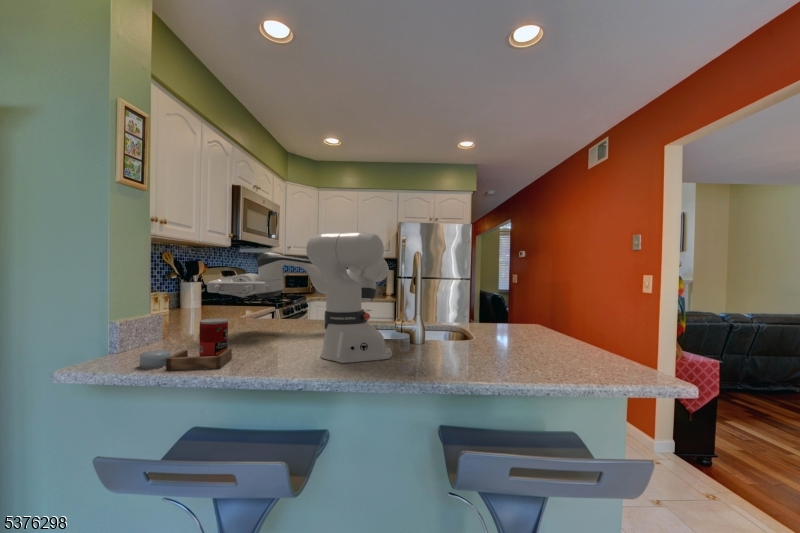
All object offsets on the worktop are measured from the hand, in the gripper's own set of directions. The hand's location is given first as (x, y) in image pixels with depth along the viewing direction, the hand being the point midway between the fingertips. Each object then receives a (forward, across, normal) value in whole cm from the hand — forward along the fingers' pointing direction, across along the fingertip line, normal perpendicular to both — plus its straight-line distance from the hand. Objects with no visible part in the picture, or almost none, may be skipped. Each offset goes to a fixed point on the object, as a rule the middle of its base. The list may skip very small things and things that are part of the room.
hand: (230, 288), depth 122 cm
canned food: (+15, 0, -20) cm, 25 cm away
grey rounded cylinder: (+25, +12, -19) cm, 34 cm away
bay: (+24, 0, -19) cm, 31 cm away
